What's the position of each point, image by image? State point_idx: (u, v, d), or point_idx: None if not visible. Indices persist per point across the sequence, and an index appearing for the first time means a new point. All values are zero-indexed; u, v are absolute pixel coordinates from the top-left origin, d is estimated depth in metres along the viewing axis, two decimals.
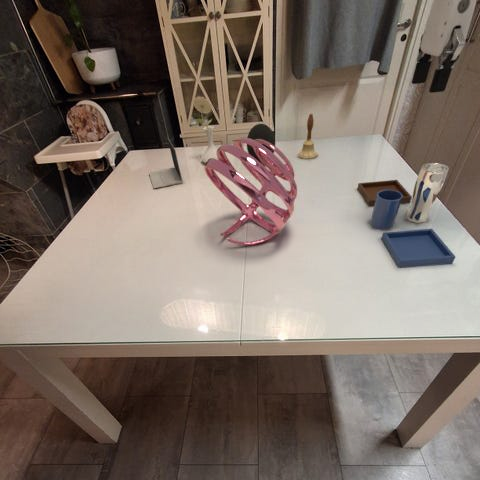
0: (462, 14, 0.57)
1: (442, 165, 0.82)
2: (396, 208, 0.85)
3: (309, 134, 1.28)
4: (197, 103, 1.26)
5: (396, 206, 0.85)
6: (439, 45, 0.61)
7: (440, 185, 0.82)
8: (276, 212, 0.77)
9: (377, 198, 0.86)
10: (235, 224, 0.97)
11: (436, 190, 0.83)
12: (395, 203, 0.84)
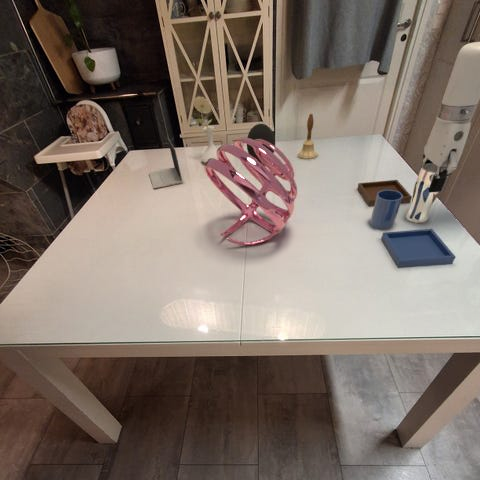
0: (457, 141, 0.72)
1: None
2: (396, 208, 0.85)
3: (309, 134, 1.28)
4: (197, 103, 1.26)
5: (396, 206, 0.85)
6: (439, 160, 0.76)
7: None
8: (276, 212, 0.77)
9: (377, 198, 0.86)
10: (235, 224, 0.97)
11: None
12: (395, 203, 0.84)
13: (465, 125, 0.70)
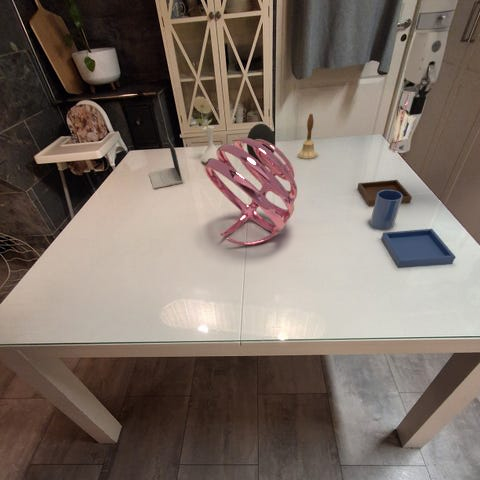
0: (435, 53, 0.72)
1: None
2: (396, 208, 0.85)
3: (309, 134, 1.28)
4: (197, 103, 1.26)
5: (396, 206, 0.85)
6: (418, 76, 0.75)
7: None
8: (276, 212, 0.77)
9: (377, 198, 0.86)
10: (235, 224, 0.97)
11: None
12: (395, 203, 0.84)
13: (442, 33, 0.69)
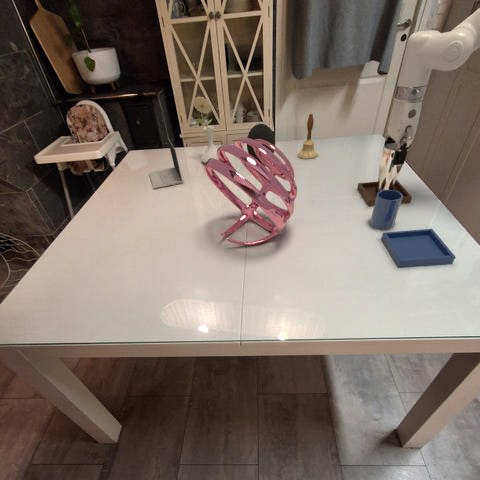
0: (411, 119, 0.83)
1: (402, 144, 0.93)
2: (396, 208, 0.85)
3: (309, 134, 1.28)
4: (197, 103, 1.26)
5: (396, 206, 0.85)
6: (397, 136, 0.87)
7: None
8: (276, 212, 0.77)
9: (377, 198, 0.86)
10: (235, 224, 0.97)
11: (397, 167, 0.94)
12: (395, 203, 0.84)
13: (417, 103, 0.81)
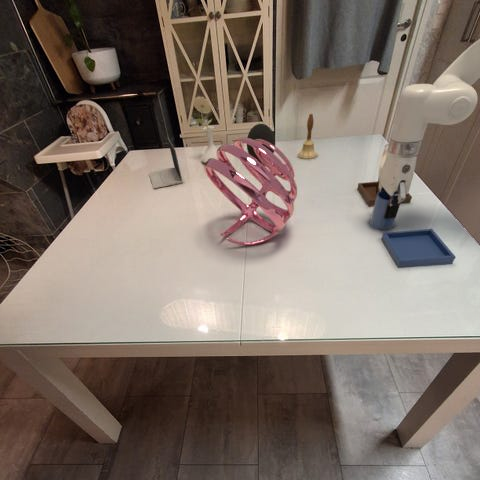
0: (405, 174, 0.76)
1: None
2: None
3: (309, 134, 1.28)
4: (197, 103, 1.26)
5: None
6: (390, 190, 0.80)
7: None
8: (276, 212, 0.77)
9: (377, 198, 0.86)
10: (235, 224, 0.97)
11: None
12: None
13: (411, 159, 0.74)
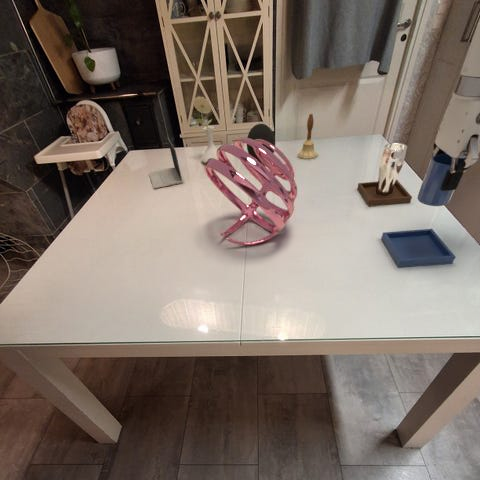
0: None
1: (402, 144, 0.93)
2: None
3: (309, 134, 1.28)
4: (197, 103, 1.26)
5: None
6: (455, 149, 0.60)
7: (400, 162, 0.93)
8: (276, 212, 0.77)
9: (432, 164, 0.65)
10: (235, 224, 0.97)
11: (397, 167, 0.94)
12: None
13: None
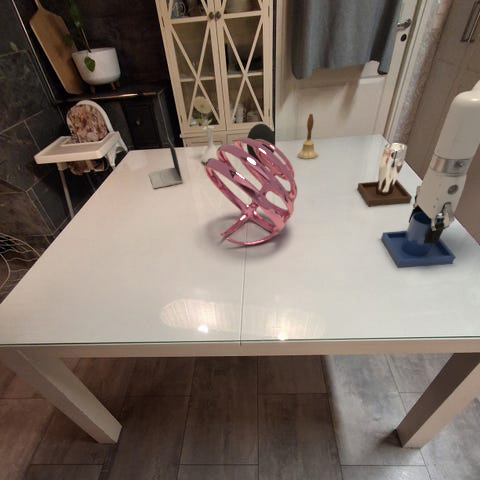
0: (452, 195, 0.65)
1: (402, 144, 0.93)
2: None
3: (309, 134, 1.28)
4: (197, 103, 1.26)
5: None
6: (432, 212, 0.69)
7: (400, 162, 0.93)
8: (276, 212, 0.77)
9: (412, 221, 0.75)
10: (235, 224, 0.97)
11: (397, 167, 0.94)
12: None
13: (460, 178, 0.63)
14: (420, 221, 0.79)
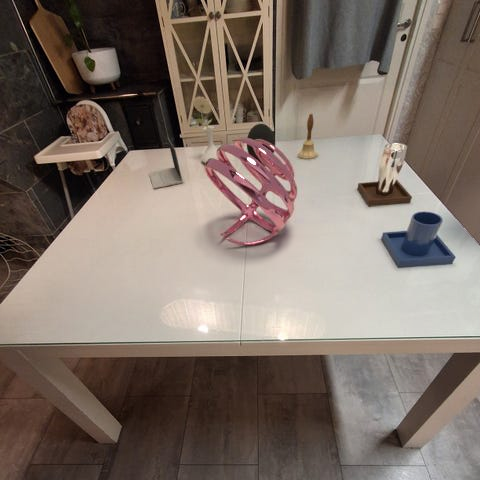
0: None
1: (402, 144, 0.93)
2: (435, 233, 0.74)
3: (309, 134, 1.28)
4: (197, 103, 1.26)
5: (435, 231, 0.74)
6: None
7: (400, 162, 0.93)
8: (276, 212, 0.77)
9: (412, 221, 0.75)
10: (235, 224, 0.97)
11: (397, 167, 0.94)
12: (434, 228, 0.73)
13: None
14: (420, 221, 0.79)
